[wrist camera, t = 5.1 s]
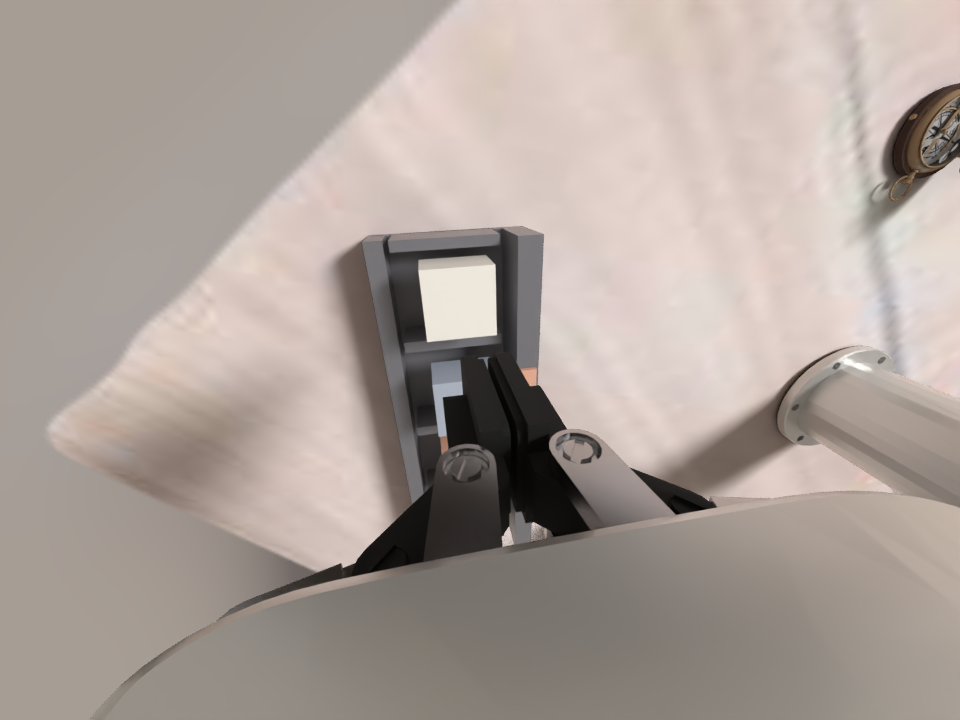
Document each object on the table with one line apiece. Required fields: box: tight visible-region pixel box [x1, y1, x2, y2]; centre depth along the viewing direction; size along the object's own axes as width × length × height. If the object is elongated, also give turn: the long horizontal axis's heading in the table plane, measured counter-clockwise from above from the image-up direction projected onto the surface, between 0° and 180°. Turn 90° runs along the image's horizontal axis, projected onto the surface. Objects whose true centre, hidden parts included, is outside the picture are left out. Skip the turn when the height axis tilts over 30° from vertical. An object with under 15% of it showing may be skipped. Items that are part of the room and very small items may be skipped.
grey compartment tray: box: [362, 226, 544, 545], centre depth 29 cm, size 11×30×5 cm, turn 2°
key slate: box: [431, 357, 490, 437], centre depth 25 cm, size 4×4×3 cm
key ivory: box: [418, 255, 497, 342], centre depth 22 cm, size 4×4×3 cm
